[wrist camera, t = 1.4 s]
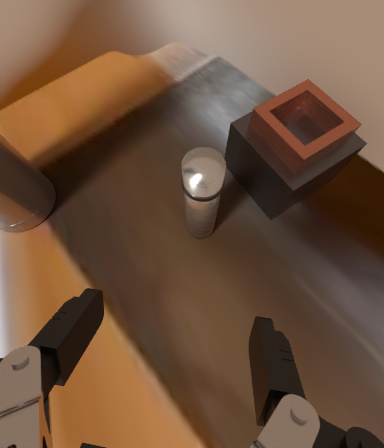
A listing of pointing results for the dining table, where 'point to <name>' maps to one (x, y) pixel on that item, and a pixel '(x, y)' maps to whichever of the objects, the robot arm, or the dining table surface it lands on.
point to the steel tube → (202, 189)
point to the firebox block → (291, 146)
